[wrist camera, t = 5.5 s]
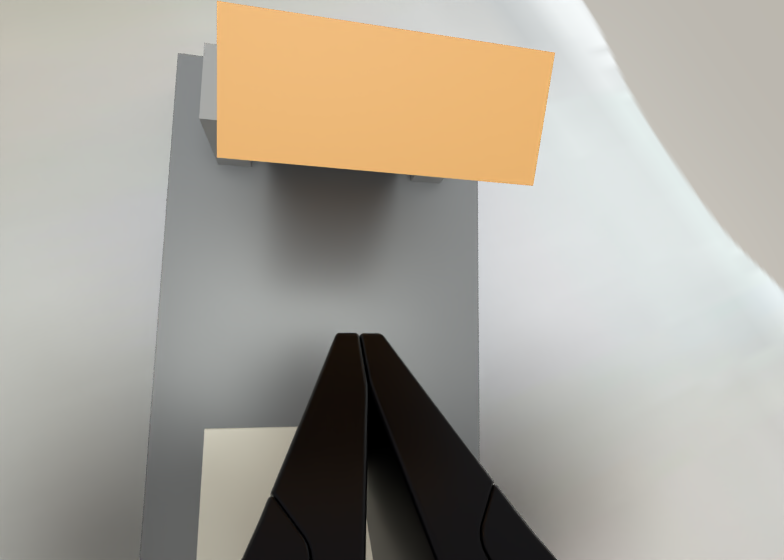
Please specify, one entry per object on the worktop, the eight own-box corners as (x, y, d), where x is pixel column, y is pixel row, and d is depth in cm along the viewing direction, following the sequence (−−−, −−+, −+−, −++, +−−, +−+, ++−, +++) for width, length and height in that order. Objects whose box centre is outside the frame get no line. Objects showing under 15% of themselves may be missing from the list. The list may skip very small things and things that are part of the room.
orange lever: (399, 167, 16) (532, 192, 7) (265, 154, 15) (217, 166, 6) (405, 104, 16) (556, 44, 6) (266, 88, 15) (216, -9, 6)
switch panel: (458, 648, 17) (532, 785, 12) (147, 687, 15) (71, 873, 9) (457, 116, 19) (519, 37, 14) (190, 85, 17) (148, -22, 12)
